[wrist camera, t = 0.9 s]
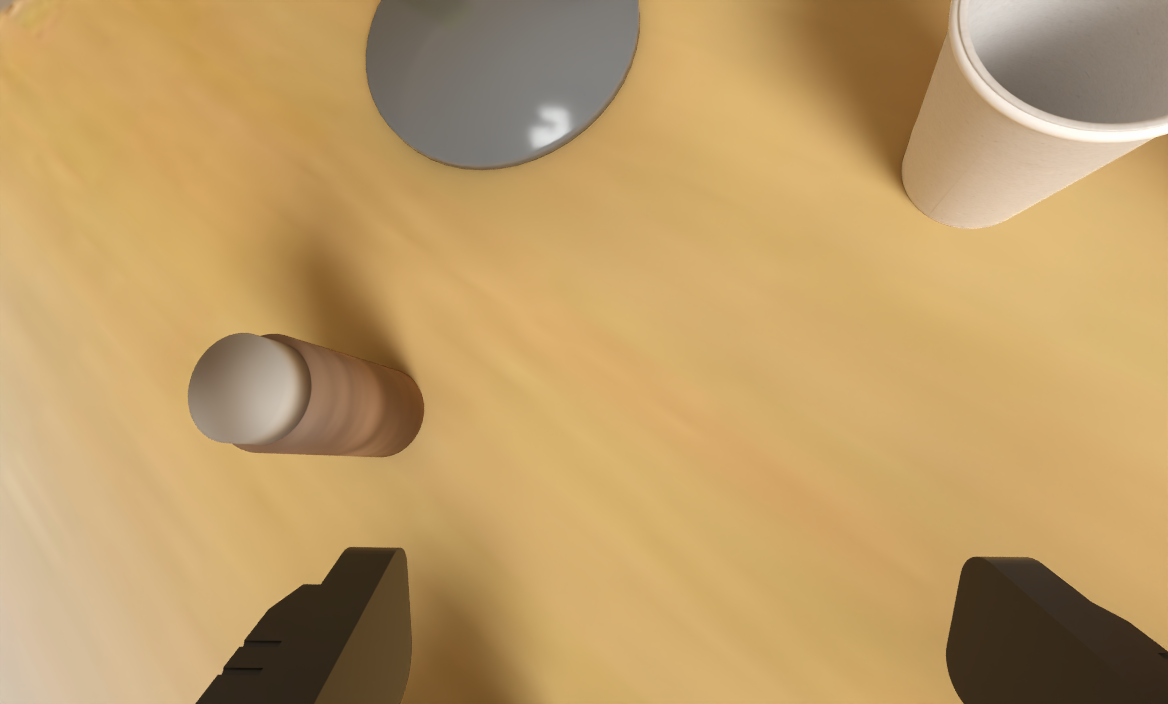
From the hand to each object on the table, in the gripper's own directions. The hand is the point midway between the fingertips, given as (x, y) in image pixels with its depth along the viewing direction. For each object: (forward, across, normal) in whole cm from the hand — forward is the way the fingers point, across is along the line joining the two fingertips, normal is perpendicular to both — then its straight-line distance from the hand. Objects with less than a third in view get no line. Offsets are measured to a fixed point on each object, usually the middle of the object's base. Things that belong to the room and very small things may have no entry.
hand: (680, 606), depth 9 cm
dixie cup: (+21, -16, -7) cm, 28 cm away
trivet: (+30, +6, -15) cm, 34 cm away
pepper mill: (+22, +12, +5) cm, 25 cm away
